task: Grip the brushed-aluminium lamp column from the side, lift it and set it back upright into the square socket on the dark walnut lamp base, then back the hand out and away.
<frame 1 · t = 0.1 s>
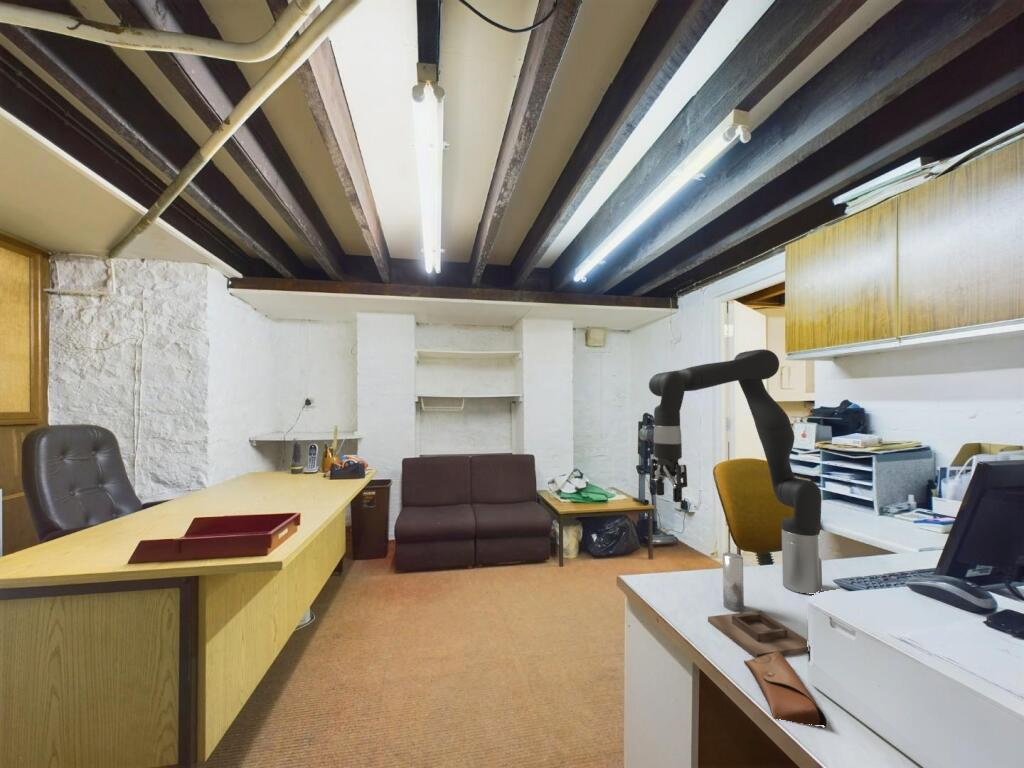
hand: (668, 498, 116), 29 cm above the table, tool pointing down, fingers open, 8 cm apart
lamp column: (733, 607, 112), on the table
sunglasses case: (779, 693, 80), on the table
lamp base: (758, 635, 99), on the table
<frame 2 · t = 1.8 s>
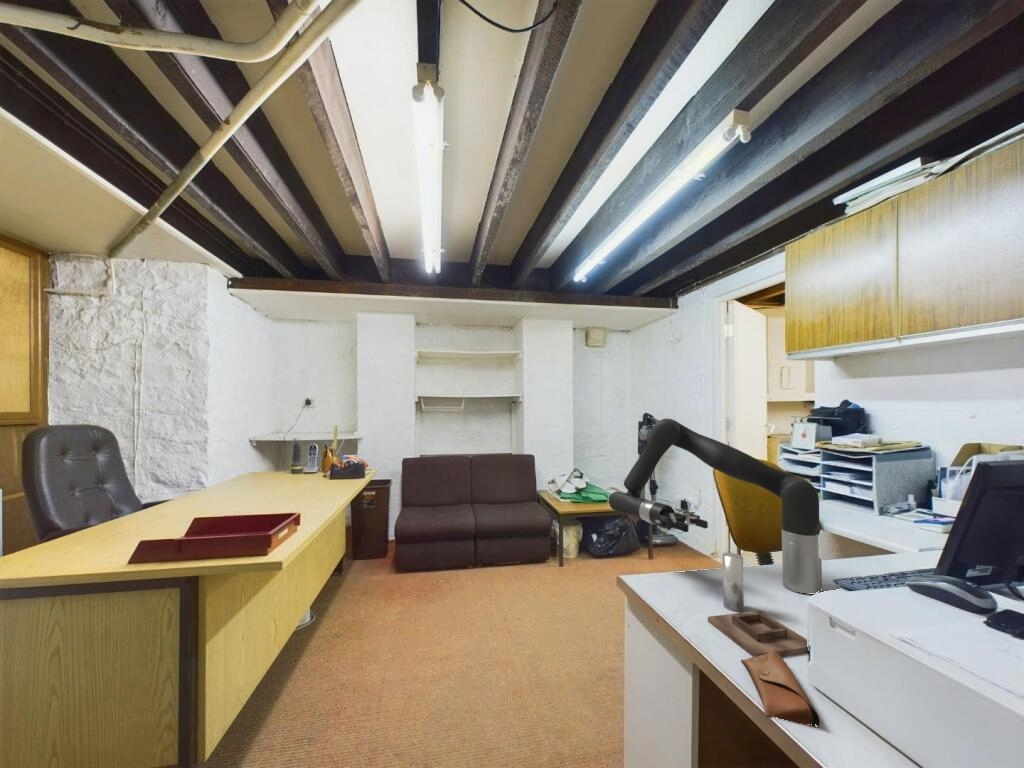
hand: (697, 526, 123), 19 cm above the table, tool horizontal, fingers open, 8 cm apart
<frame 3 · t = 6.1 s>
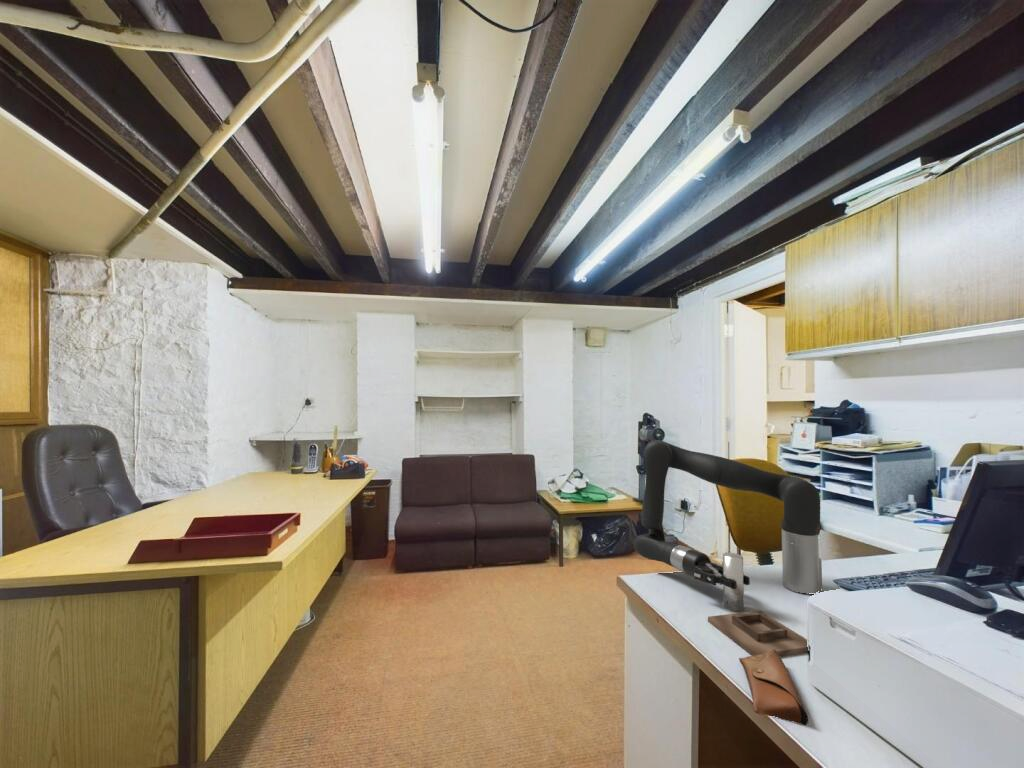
hand: (742, 583, 111), 8 cm above the table, tool horizontal, fingers closed on lamp column, 5 cm apart
lamp column: (733, 607, 112), on the table, touching gripper
sunglasses case: (769, 690, 81), on the table
when the fingers open (10 cm above the table, at t = 10.9 s): lamp column drops 1 cm, resting on lamp base.
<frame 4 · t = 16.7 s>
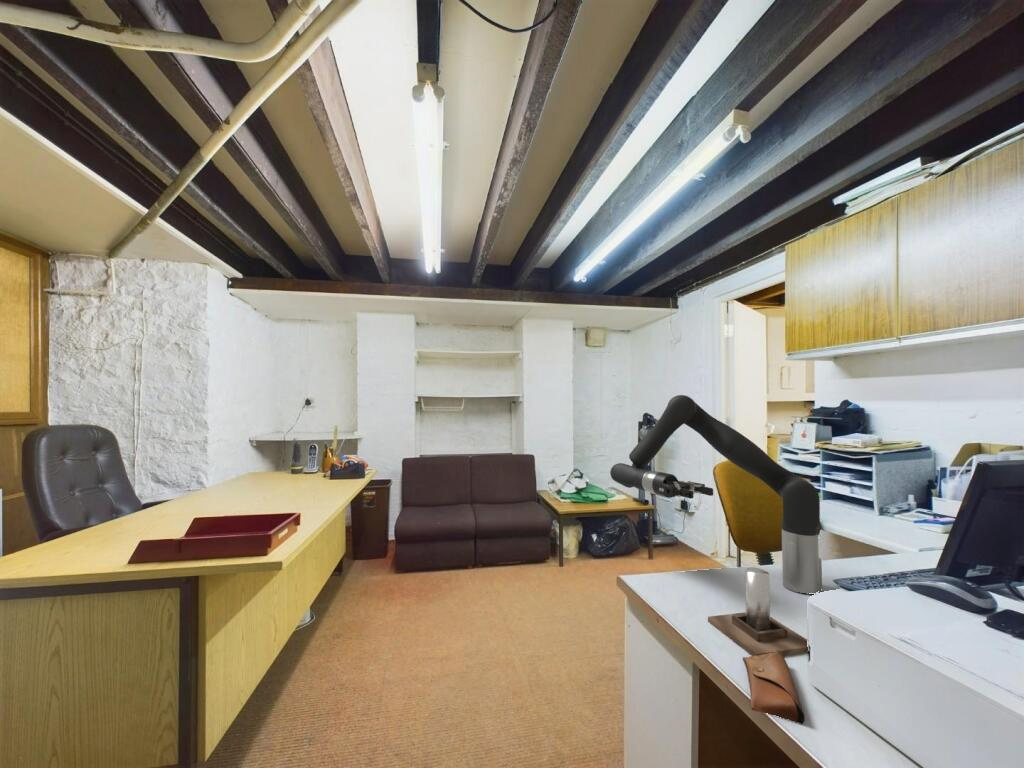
hand: (702, 493, 119), 30 cm above the table, tool horizontal, fingers open, 8 cm apart
lamp column: (758, 630, 99), point 1 cm above the table, touching lamp base
everything else where it was.
at the end: lamp column 0.1 cm off-centre on the lamp base, point 1.2 cm above the lamp base's base; lamp column tilted 0°; the gripper is holding nothing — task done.
